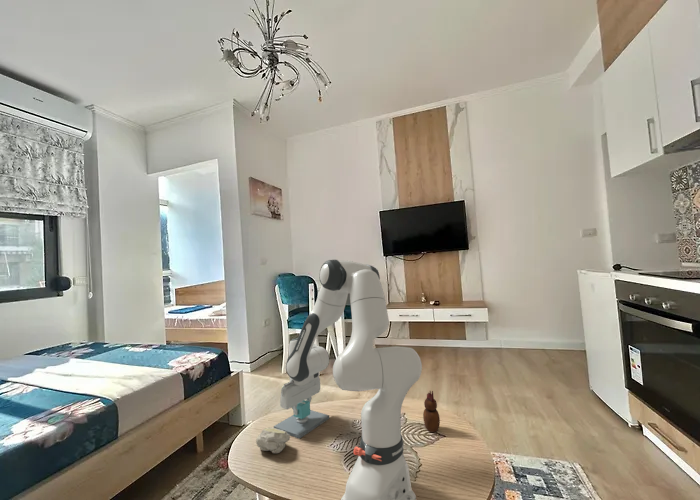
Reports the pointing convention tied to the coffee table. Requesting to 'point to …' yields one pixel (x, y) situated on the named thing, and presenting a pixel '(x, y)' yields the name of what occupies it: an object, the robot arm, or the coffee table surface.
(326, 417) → the toggle switch board
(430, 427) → the wooden figurine
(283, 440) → the fossil replica
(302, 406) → the teal slotted cube
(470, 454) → the coffee table surface
